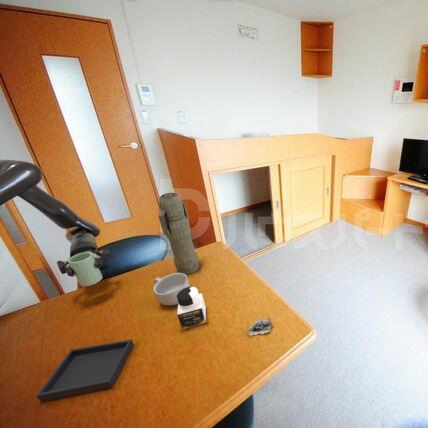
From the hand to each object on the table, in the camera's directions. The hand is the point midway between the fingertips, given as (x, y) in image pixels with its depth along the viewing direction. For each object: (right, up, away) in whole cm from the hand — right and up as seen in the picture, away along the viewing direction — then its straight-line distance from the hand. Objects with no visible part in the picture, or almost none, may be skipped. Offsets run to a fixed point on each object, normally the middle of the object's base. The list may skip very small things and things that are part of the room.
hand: (85, 270), depth 81 cm
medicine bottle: (+37, -17, +1) cm, 41 cm away
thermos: (+22, -6, +25) cm, 33 cm away
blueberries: (+60, -19, -2) cm, 63 cm away
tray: (+17, -24, -15) cm, 33 cm away
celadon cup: (-2, -5, +4) cm, 6 cm away
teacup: (+24, -13, +9) cm, 29 cm away
